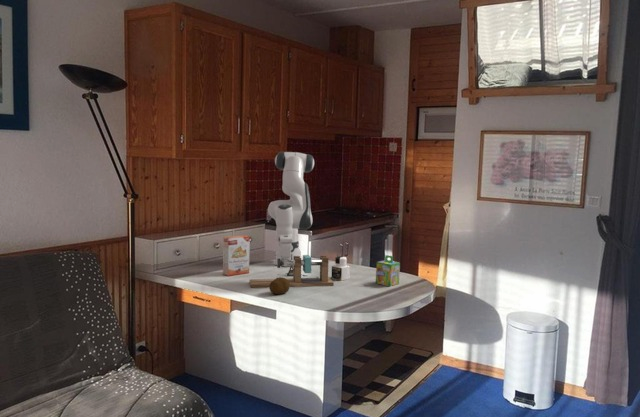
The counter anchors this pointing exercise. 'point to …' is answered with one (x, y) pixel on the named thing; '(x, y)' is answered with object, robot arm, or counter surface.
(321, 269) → the shaft stand
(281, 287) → the potato
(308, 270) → the teal holed block
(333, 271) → the medicine bottle
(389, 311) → the counter surface
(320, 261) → the shaft
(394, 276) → the chalk box
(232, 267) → the cracker box
